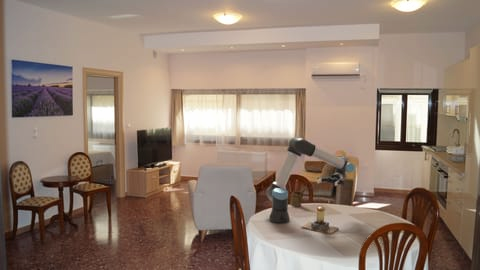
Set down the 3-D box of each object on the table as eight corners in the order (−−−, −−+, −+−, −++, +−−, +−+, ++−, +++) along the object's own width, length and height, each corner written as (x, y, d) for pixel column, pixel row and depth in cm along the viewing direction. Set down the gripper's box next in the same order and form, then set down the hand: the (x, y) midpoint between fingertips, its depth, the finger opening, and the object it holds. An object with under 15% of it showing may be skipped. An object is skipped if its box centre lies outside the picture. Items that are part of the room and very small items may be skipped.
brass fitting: (314, 227, 276) (314, 207, 275) (317, 225, 281) (318, 205, 280) (322, 229, 272) (323, 209, 271) (326, 226, 278) (326, 207, 277)
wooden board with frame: (301, 228, 277) (301, 222, 277) (309, 223, 289) (309, 217, 288) (331, 234, 265) (331, 228, 265) (338, 228, 277) (338, 223, 276)
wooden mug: (302, 207, 333) (303, 186, 331) (288, 204, 341) (288, 184, 339) (307, 205, 340) (307, 184, 339) (293, 202, 348) (293, 182, 346)
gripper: (351, 185, 299) (342, 190, 281) (320, 181, 313) (310, 185, 295) (352, 175, 299) (343, 179, 281) (321, 171, 312) (310, 175, 294)
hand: (326, 182), depth 288 cm, fingers open, 13 cm apart
